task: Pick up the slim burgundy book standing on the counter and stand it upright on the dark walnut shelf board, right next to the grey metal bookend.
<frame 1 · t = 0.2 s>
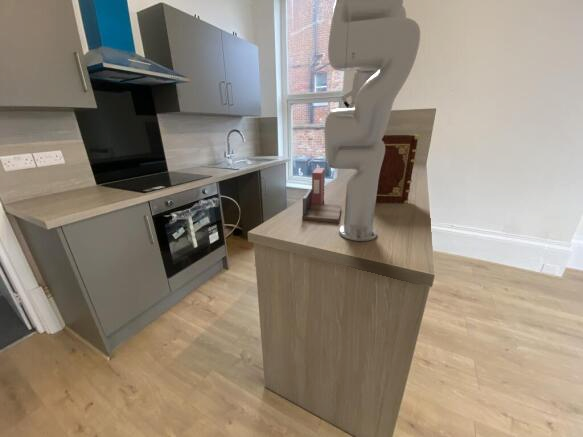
hand: (363, 120, 92), 36 cm above the countertop, tool pointing down, fingers open, 9 cm apart
bookend: (307, 209, 101), resting on shelf board
slim book: (318, 204, 114), on the countertop
decorative book: (383, 201, 117), on the countertop
shelf board: (322, 215, 100), on the countertop
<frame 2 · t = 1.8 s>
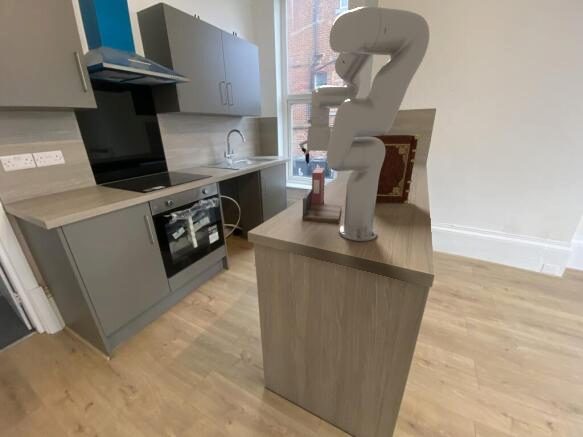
hand: (318, 163, 107), 19 cm above the countertop, tool pointing down, fingers open, 9 cm apart
nothing on the countertop moved.
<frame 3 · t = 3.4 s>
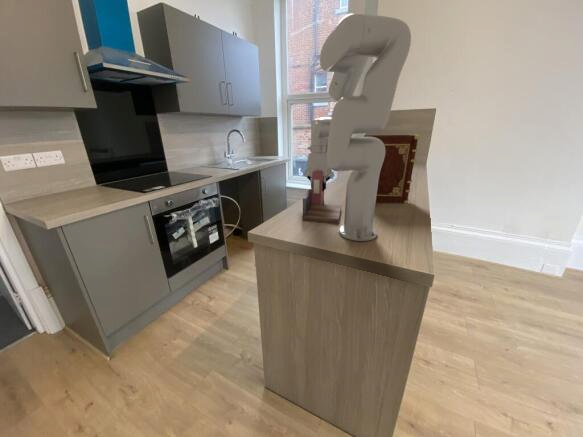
hand: (318, 190, 111), 7 cm above the countertop, tool pointing down, fingers closed on slim book, 4 cm apart
slim book: (318, 204, 114), on the countertop, touching gripper
everything else where it was.
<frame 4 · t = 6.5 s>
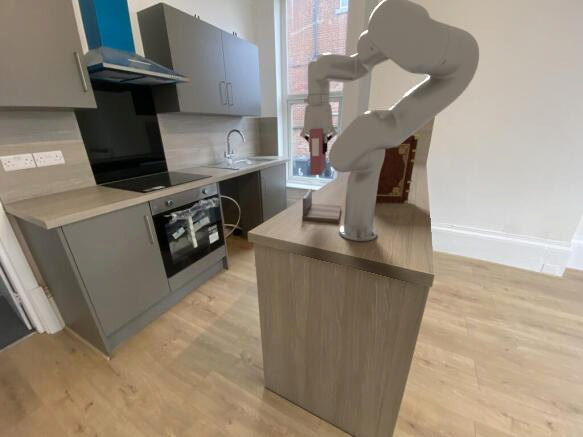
hand: (318, 153, 92), 25 cm above the countertop, tool pointing down, fingers closed on slim book, 4 cm apart
slim book: (318, 171, 95), point 18 cm above the countertop, touching gripper
everything else where it was.
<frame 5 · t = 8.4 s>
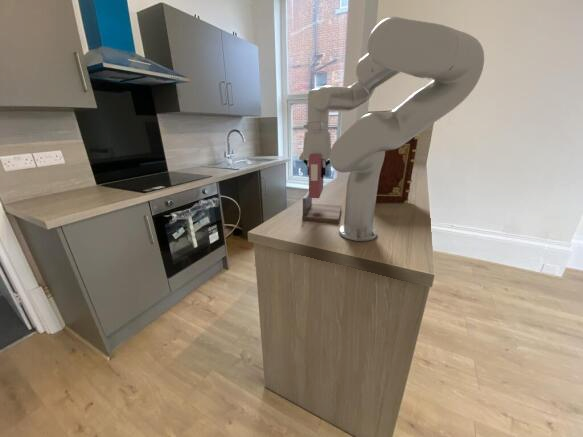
hand: (316, 176, 95), 16 cm above the countertop, tool pointing down, fingers closed on slim book, 4 cm apart
slim book: (316, 192, 98), point 9 cm above the countertop, touching gripper
everything else where it was.
when the fingers open (10 cm above the countertop, at t = 9.9 s): slim book stays where it is, resting on shelf board.
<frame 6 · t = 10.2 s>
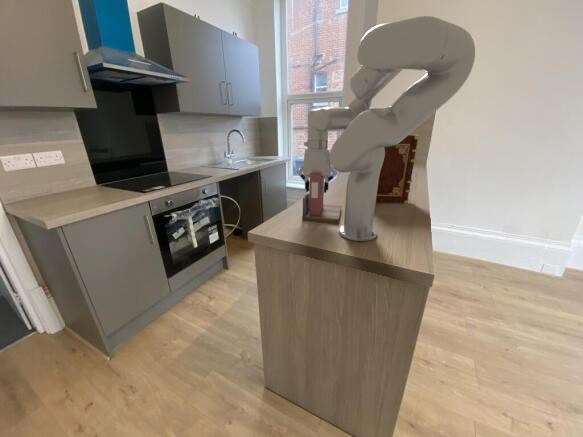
hand: (316, 191, 97), 10 cm above the countertop, tool pointing down, fingers open, 6 cm apart
slim book: (316, 209, 101), point 2 cm above the countertop, touching shelf board
everything else where it was.
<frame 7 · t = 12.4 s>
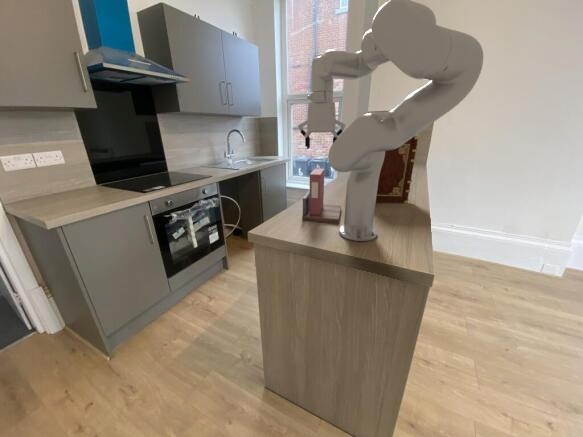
hand: (320, 148, 91), 27 cm above the countertop, tool pointing down, fingers open, 9 cm apart
nothing on the countertop moved.
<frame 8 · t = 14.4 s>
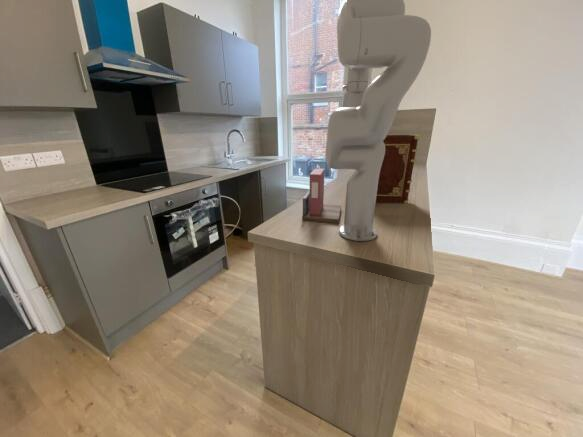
hand: (353, 136, 96), 30 cm above the countertop, tool pointing down, fingers open, 9 cm apart
nothing on the countertop moved.
at the end: slim book 0.7 cm from the target spot on the shelf board, point 2.0 cm above the shelf board's base; slim book tilted 0°; the gripper is holding nothing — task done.
